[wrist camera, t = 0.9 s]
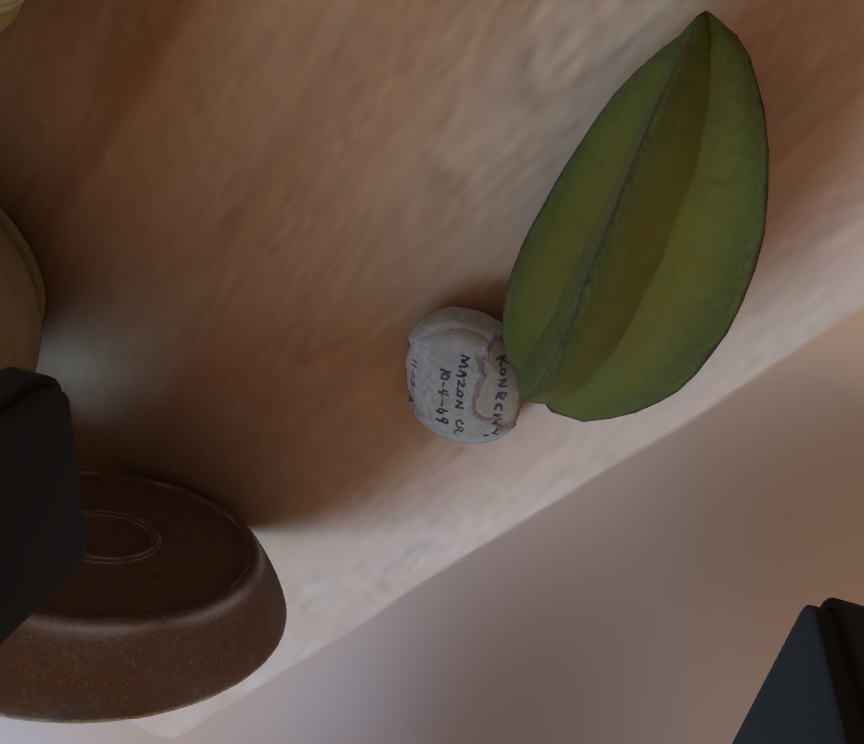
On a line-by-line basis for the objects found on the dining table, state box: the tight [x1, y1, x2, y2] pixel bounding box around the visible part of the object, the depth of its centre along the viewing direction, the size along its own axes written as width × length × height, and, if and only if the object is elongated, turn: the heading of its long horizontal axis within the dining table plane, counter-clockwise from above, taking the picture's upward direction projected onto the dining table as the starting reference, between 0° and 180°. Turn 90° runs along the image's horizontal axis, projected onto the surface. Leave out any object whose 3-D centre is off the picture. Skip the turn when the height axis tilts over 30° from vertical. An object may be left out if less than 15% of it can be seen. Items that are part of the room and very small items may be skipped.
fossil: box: [405, 307, 521, 444], centre depth 32 cm, size 6×3×5 cm
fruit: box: [503, 10, 769, 422], centre depth 26 cm, size 11×12×7 cm
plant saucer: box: [0, 470, 287, 724], centre depth 34 cm, size 18×18×3 cm
